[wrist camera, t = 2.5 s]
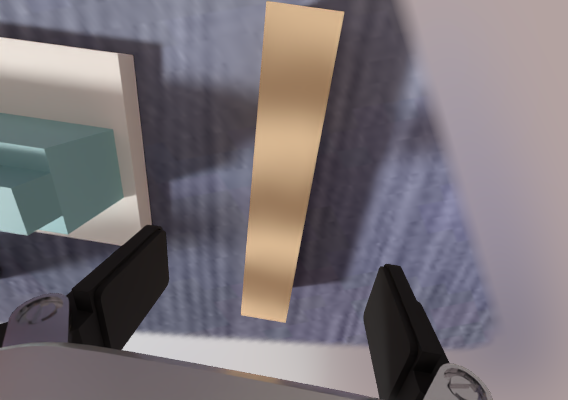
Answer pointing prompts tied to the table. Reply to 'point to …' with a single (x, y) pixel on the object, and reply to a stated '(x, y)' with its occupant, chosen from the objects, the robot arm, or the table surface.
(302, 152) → the oak bar
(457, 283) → the table surface
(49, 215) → the ridge stand
